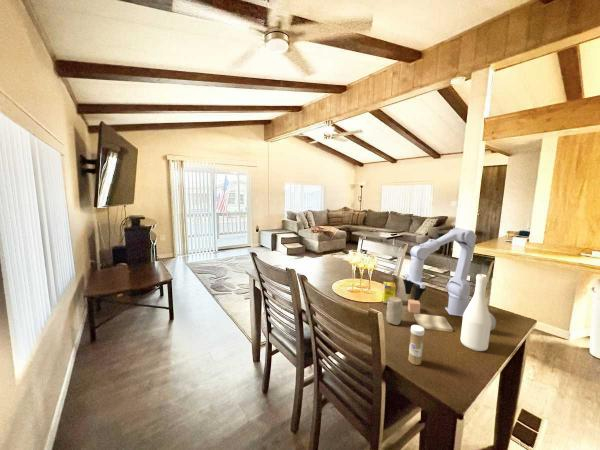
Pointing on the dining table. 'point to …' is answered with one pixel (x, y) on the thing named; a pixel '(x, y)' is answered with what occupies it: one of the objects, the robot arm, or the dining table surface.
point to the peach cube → (413, 306)
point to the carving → (394, 310)
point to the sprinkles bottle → (416, 344)
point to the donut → (492, 322)
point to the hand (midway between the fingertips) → (412, 297)
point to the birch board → (433, 322)
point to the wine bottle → (477, 319)
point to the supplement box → (388, 291)
